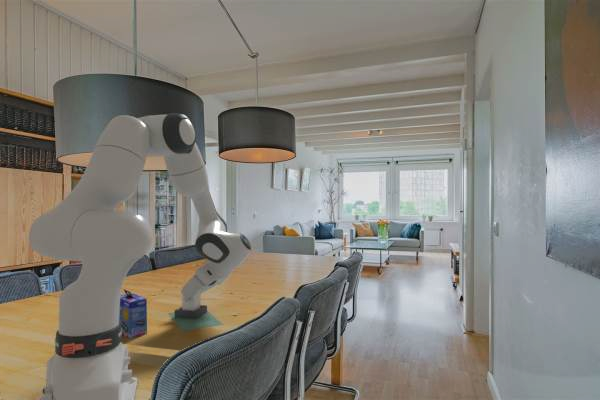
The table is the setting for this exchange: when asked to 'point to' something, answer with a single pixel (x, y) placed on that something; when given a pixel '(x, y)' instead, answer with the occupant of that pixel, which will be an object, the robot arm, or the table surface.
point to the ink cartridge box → (133, 315)
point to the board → (196, 323)
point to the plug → (191, 303)
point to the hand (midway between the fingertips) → (189, 298)
